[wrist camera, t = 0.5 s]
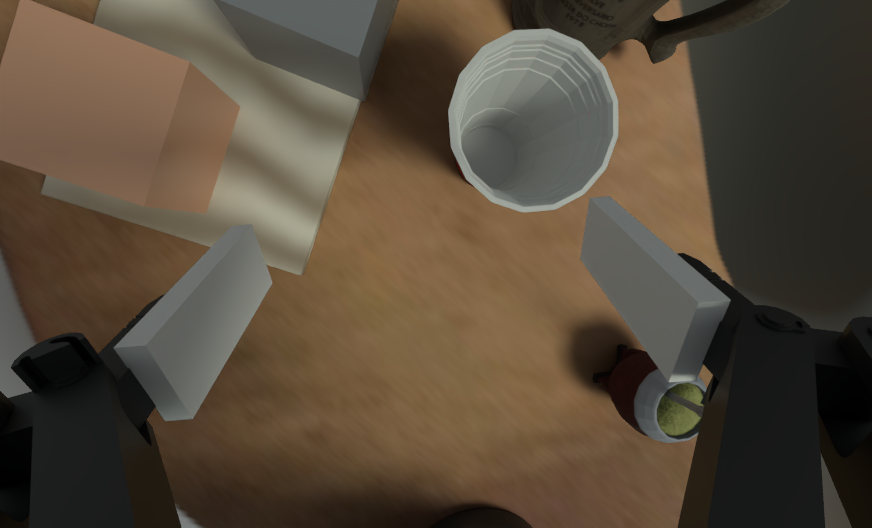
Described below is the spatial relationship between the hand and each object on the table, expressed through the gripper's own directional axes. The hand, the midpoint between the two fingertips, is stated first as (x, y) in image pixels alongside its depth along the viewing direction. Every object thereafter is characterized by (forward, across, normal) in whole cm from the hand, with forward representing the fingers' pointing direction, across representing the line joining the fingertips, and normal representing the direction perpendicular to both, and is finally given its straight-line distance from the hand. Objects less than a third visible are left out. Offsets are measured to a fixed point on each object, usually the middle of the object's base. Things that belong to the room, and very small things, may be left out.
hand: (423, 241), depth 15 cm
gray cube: (+23, +7, -8) cm, 25 cm away
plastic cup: (+21, -6, +3) cm, 22 cm away
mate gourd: (+13, -18, +24) cm, 32 cm away
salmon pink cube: (+18, +20, -1) cm, 27 cm away
